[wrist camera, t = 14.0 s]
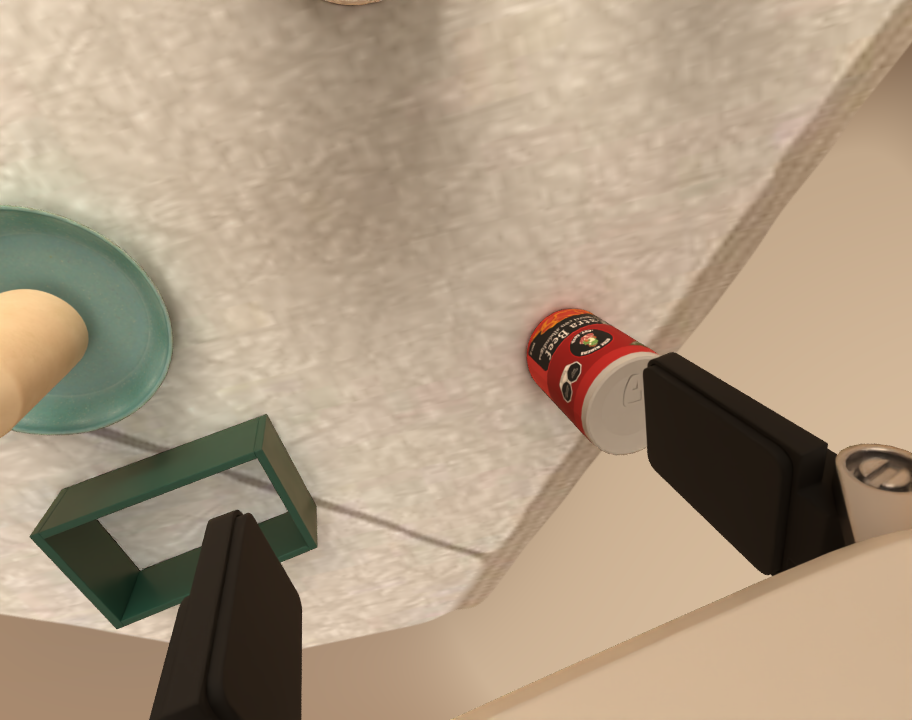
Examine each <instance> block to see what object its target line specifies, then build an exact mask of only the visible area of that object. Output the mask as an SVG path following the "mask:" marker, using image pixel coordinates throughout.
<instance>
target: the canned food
mask: <svg viewBox="0 0 912 720" xmlns="http://www.w3.org/2000/svg"><path fill="white" fill-rule="evenodd" d="M657 357H660V355H658V354H657V353H656V352H654V351H653V350H651V349H649V348H648V347H646V346H644V345H643V344H641V343H639V342H638V341H636V340H635V339H633V338H631V337H630V336H628V335H626V334H625V333H623V332H621V331H620V330H618V329H616V328H615V327H613V326H612V325H610V324H608V323H607V322H605V321H603V320H602V319H600V318H598V317H597V316H595V315H593V314H592V313H590V312H588V311H585V310H581V309H564V310H560V311H557V312H555V313H553V314H551V315H549V316H548V317H546V318H545V319H544V320H543V321H542V322H541V323H540V324H539V325H538V326H537V327H536V329H535V330H534V332H533V334H532V335H531V338H530V340H529V343H528V347H527V363H528V368H529V371H530V374H531V376H532V378H533V379H534V381H535V382H536V384H537V385H538V386H539V387H540V388H541V389H542V390H543V391H544V392H545V393H546V394H547V396H548V397H549V398H550V399H551V400H552V401H553V402H554V403H555V404H556V405H557V406H558V408H559V409H560V410H561V411H562V412H563V413H564V414H565V415H566V416H567V417H568V418H569V419H570V421H571V422H572V423H573V424H574V425H575V426H576V427H577V428H578V429H579V430H580V431H581V433H582V434H583V435H585V436H586V437H587V439H588V440H589V441H590V442H591V443H593V444H594V445H595V446H596V447H598V448H599V449H600V450H602V451H604V452H606V453H608V454H613V455H627V454H631V453H635V452H638V451H640V450H643V449H645V448H646V447H647V437H646V421H645V404H644V388H643V370H644V369H645V368H647V364H648V362H649V361H650V360H651V359H654V358H657Z"/></svg>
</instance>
